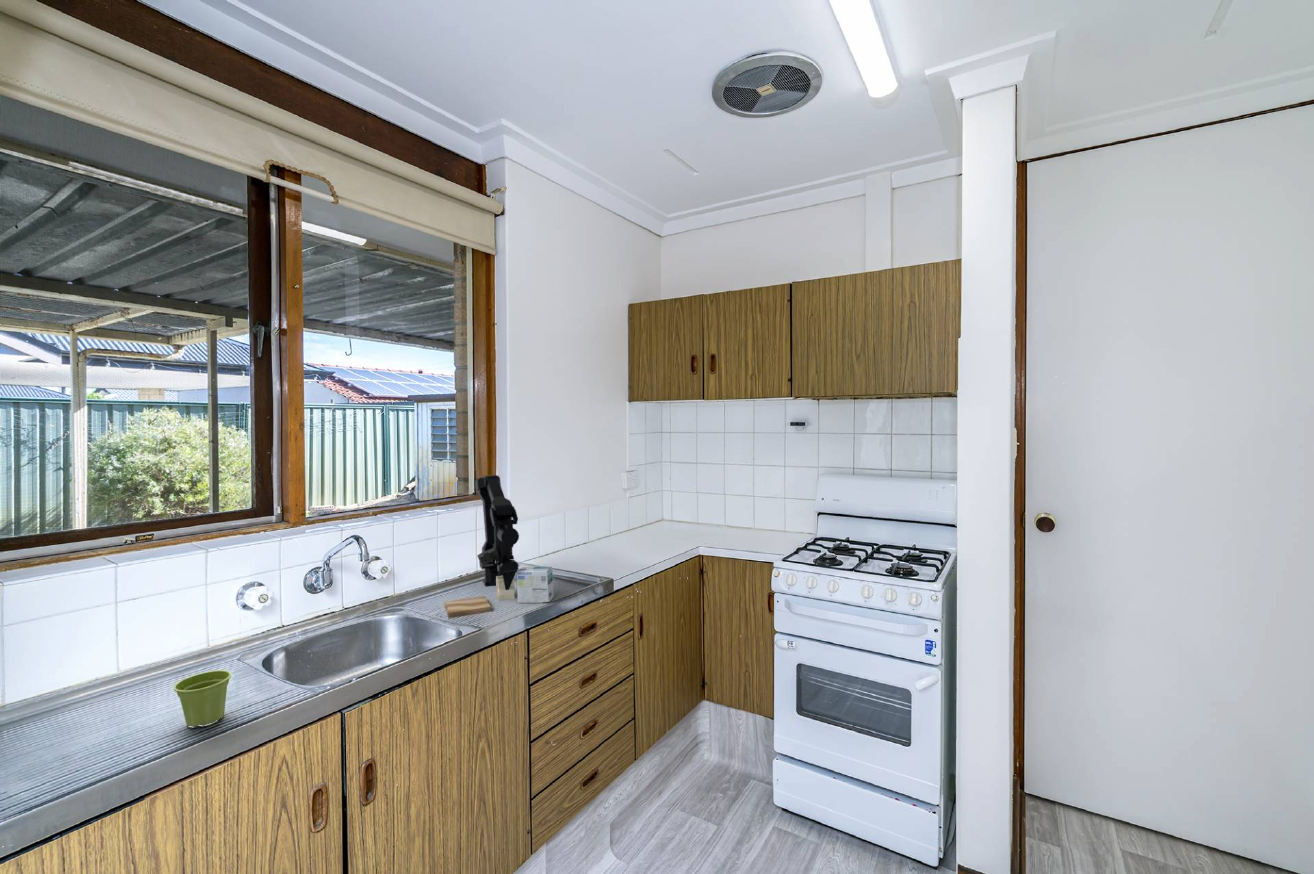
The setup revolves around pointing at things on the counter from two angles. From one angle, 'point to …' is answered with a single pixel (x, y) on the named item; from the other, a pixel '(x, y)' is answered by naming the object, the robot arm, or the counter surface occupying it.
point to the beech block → (501, 591)
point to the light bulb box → (535, 584)
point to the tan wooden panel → (467, 607)
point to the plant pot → (203, 696)
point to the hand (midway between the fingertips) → (504, 586)
